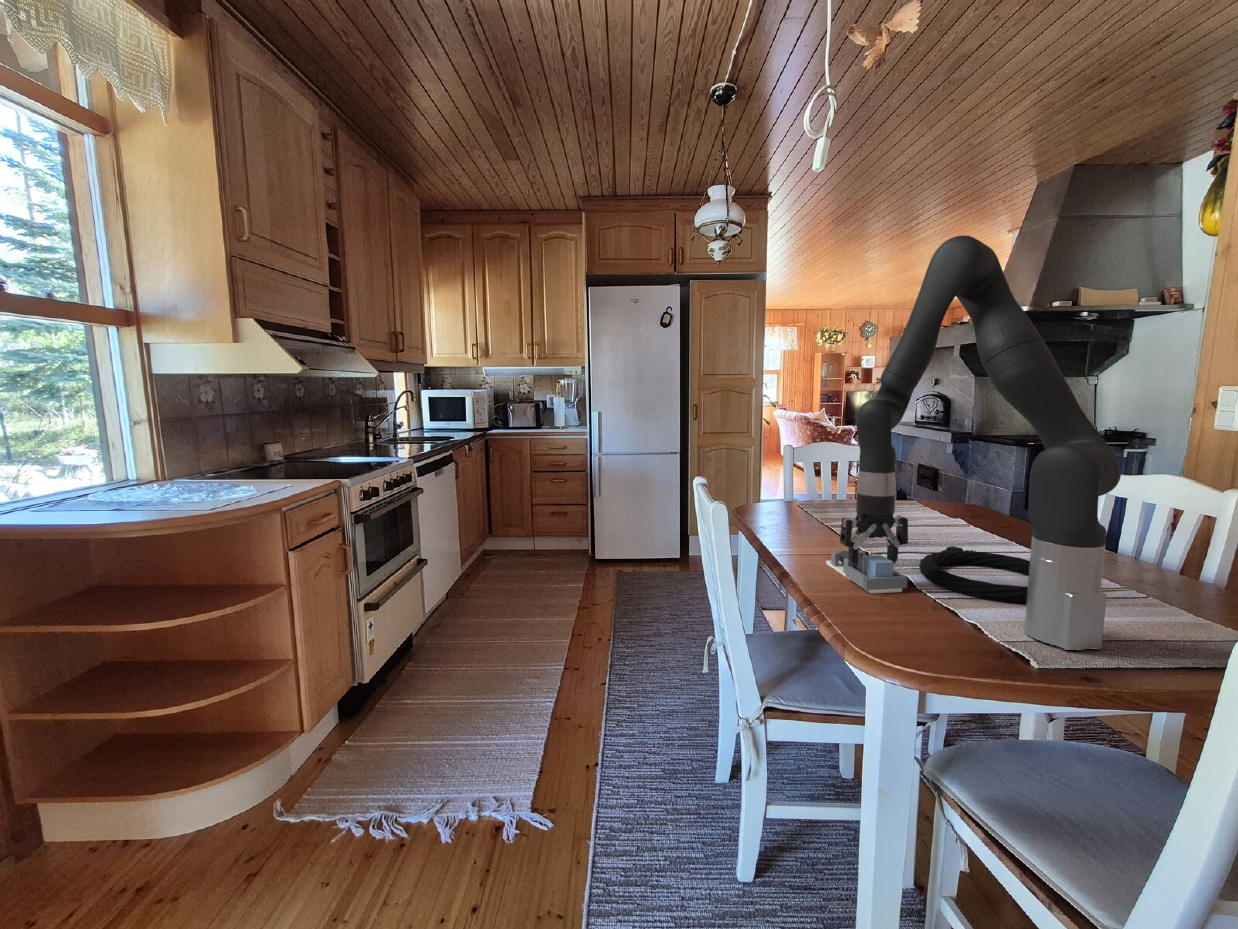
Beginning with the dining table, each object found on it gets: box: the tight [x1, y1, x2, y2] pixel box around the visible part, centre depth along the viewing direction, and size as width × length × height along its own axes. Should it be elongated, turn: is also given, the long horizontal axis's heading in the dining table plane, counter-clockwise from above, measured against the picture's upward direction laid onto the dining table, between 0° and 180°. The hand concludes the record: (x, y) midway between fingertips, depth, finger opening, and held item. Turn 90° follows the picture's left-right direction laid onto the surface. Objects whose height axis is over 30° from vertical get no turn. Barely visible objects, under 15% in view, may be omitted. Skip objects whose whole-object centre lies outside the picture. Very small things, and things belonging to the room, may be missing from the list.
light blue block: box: [838, 550, 895, 577], centre depth 119 cm, size 17×4×6 cm, turn 4°
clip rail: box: [825, 549, 908, 595], centre depth 119 cm, size 20×9×4 cm, turn 4°
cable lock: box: [918, 545, 1030, 605], centre depth 116 cm, size 28×4×30 cm
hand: (872, 563), depth 114 cm, fingers open, 8 cm apart
